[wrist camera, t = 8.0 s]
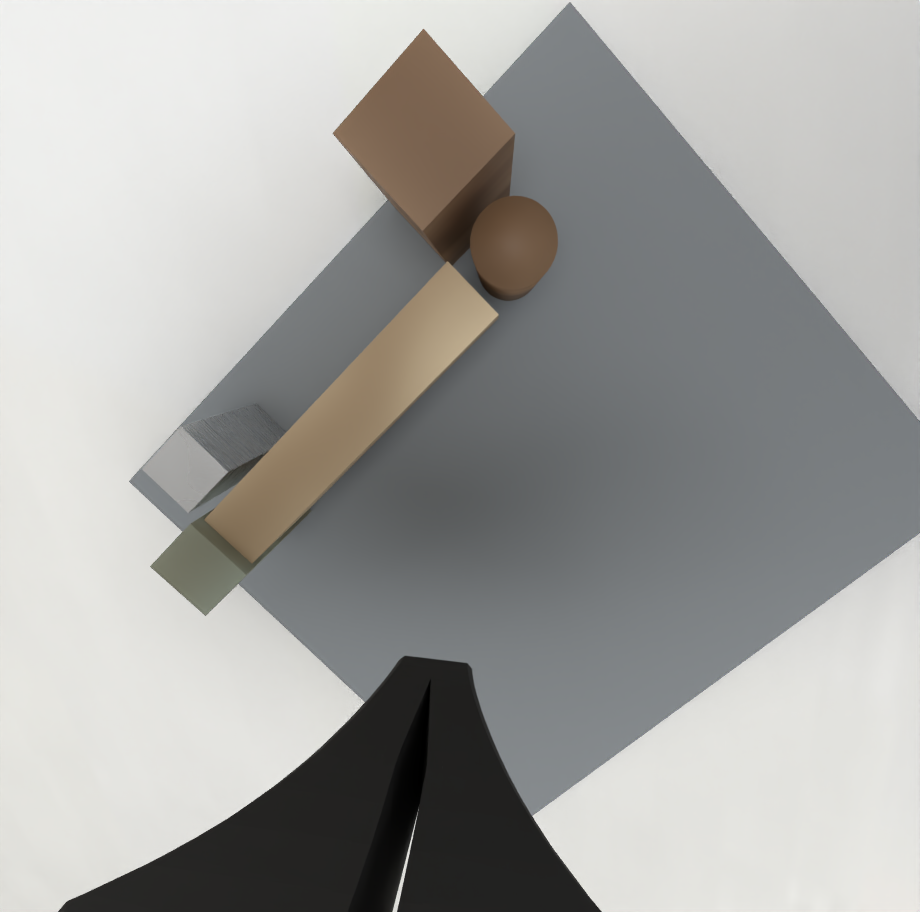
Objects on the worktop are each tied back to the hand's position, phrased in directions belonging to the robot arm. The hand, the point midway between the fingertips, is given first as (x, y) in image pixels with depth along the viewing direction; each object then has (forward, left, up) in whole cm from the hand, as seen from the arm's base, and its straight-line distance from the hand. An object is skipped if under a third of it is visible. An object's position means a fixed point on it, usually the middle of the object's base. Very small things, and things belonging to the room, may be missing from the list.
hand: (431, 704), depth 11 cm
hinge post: (-7, -8, -9) cm, 14 cm away
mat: (-3, 0, -9) cm, 9 cm away
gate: (-2, -5, -8) cm, 10 cm away
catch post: (+2, -7, -9) cm, 12 cm away
